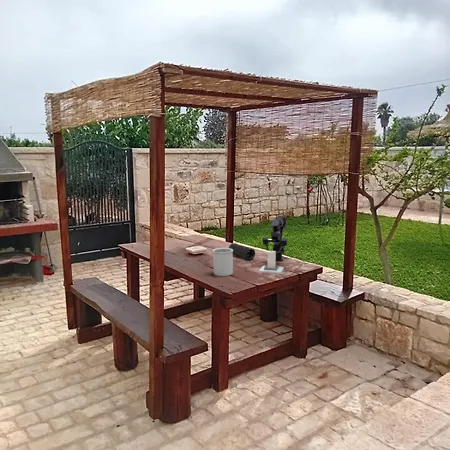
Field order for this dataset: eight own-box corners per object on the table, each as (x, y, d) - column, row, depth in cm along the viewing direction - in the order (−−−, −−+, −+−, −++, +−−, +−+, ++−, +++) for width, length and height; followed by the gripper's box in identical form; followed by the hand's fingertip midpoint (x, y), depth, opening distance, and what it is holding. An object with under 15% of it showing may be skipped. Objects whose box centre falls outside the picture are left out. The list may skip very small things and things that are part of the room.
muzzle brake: (246, 261, 349) (246, 248, 347) (227, 255, 372) (227, 243, 371) (255, 259, 354) (255, 247, 352) (236, 253, 377) (236, 242, 376)
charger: (268, 267, 323) (268, 250, 321) (275, 268, 321) (275, 250, 319) (267, 269, 318) (267, 251, 316) (274, 269, 316) (274, 252, 314)
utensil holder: (215, 277, 303) (215, 252, 300) (210, 271, 317) (210, 248, 314) (235, 275, 307) (235, 251, 304) (229, 270, 321) (229, 247, 318)
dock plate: (263, 267, 329) (263, 263, 329) (283, 268, 325) (283, 264, 325) (258, 272, 314) (258, 268, 314) (280, 273, 310) (280, 270, 309)
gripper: (262, 227, 330) (259, 244, 321) (287, 228, 325) (284, 245, 316) (264, 235, 339) (261, 252, 330) (288, 236, 334) (286, 253, 325)
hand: (273, 250), depth 325 cm, fingers open, 9 cm apart
